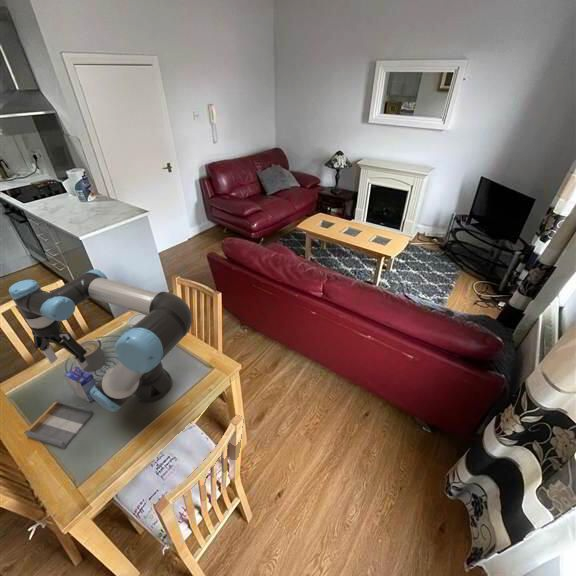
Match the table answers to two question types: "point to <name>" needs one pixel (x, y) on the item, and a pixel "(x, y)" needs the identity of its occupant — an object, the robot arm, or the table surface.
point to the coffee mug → (93, 355)
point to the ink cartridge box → (80, 383)
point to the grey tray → (59, 423)
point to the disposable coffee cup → (135, 319)
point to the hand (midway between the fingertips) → (69, 364)
